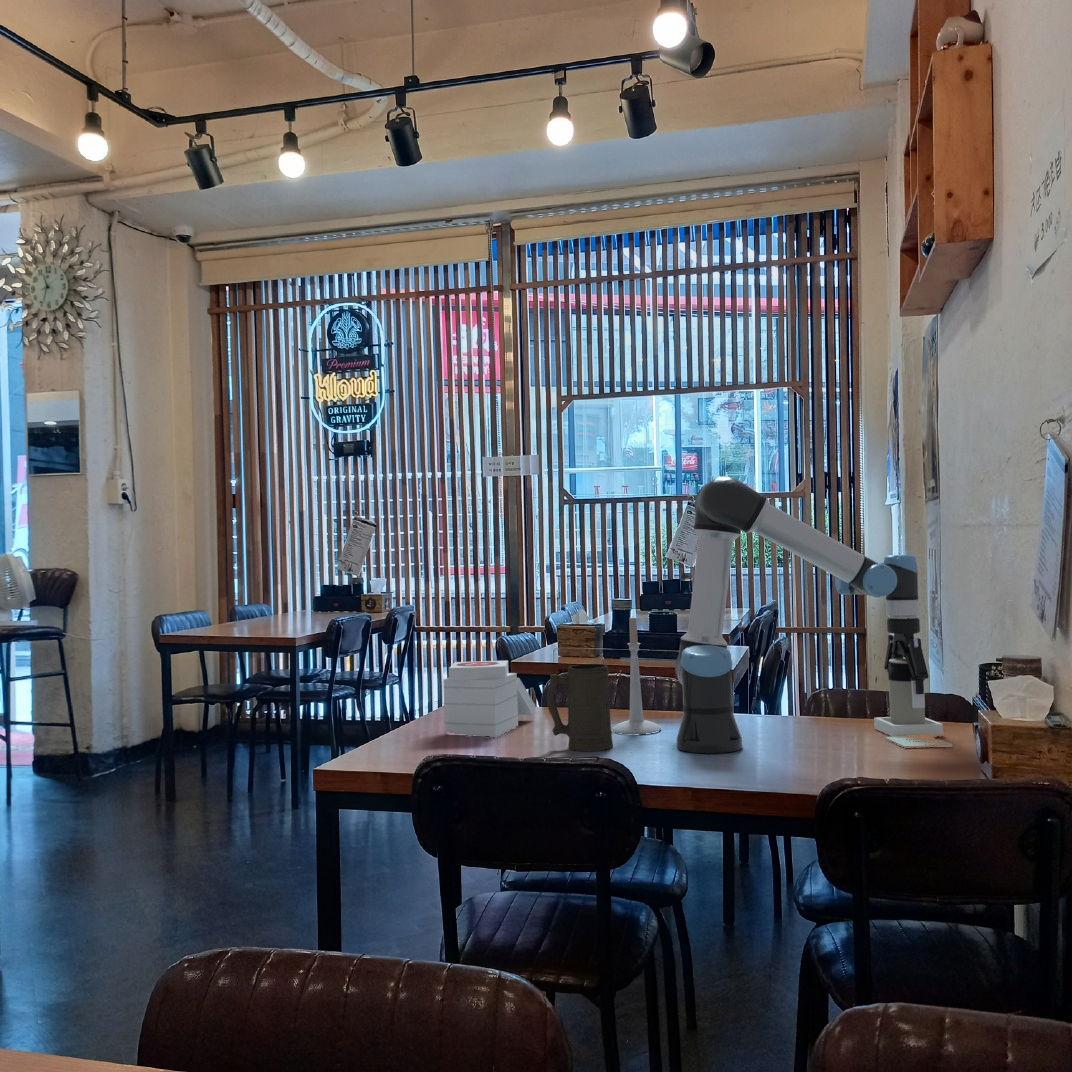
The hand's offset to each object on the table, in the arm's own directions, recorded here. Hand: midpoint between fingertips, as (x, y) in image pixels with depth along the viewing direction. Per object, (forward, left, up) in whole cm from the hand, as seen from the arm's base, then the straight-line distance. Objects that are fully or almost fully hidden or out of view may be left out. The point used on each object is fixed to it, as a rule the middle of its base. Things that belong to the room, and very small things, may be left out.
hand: (906, 703), depth 228 cm
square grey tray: (0, 0, -7) cm, 7 cm away
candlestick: (-65, +16, -8) cm, 67 cm away
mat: (-3, -12, -7) cm, 15 cm away
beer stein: (-81, -4, -8) cm, 81 cm away
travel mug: (0, 0, -8) cm, 8 cm away
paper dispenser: (-104, +28, -8) cm, 108 cm away
